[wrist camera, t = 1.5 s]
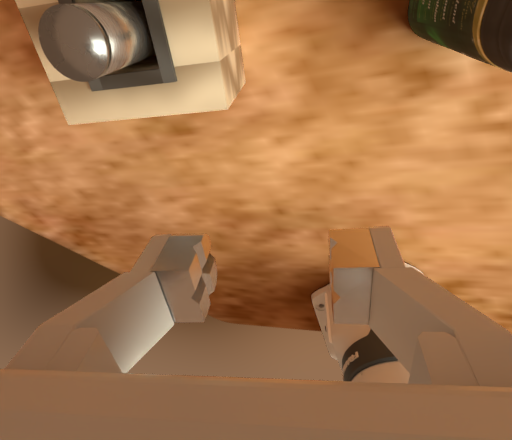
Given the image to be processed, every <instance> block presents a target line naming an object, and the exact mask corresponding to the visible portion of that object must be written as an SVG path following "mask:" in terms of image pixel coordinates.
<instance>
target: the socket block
mask: <svg viewBox="0 0 512 440" xmlns="http://www.w3.org/2000/svg"><path fill="white" fill-rule="evenodd" d="M133 1H135V0H15V2H16V4H17V7H18V9H19V11H20V14H21V16H22V18H23V21H24V23H25V25H26V28H27V30H28V32H29V35H30V37H31V39H32V41H33V44H34V46H35V48H36V51H37V53H38V55H39V58H40V60H41V62H42V65H43V67H44V69H45V72H46V74H47V76H48V79H49V81H50V83H51V86H52V88H53V90H54V93H55V95H56V97H57V99H58V102H59V104H60V106H61V109H62V111H63V113H64V116H65V118H66V120H67V123H68V125H75V124H85V123H95V122H106V121H116V120H126V119H136V118H147V117H157V116H167V115H177V114H187V113H198V112H208V111H218V110H228V108H229V107H230V105H231V104H232V102H233V101H234V99H235V98H236V96H237V95H238V93H239V92H240V90H241V89H242V87H243V86H244V84H245V83H246V81H245V74H244V66H243V59H242V52H241V44H240V37H239V29H238V22H237V14H236V7H235V0H142V3H143V7H144V10H145V14H146V18H147V22H148V26H149V30H150V34H151V37H152V41H153V45H154V49H155V53H156V56H151V57H149V58H146V59H144V60H141V61H139V62H136V63H134V64H131V65H129V66H127V67H124V68H122V69H119V70H117V71H114V72H112V73H109V74H107V75H104V76H102V77H99V78H97V79H94V80H92V81H88V82H79V81H74V80H72V79H69V78H67V77H65V76H64V75H62V74H61V73H60V72H58V71H57V70H56V69H55V68H54V67H53V66H52V64H51V63H50V62H49V60H48V59H47V57H46V56H45V54H44V52H43V50H42V47H41V44H40V41H39V35H38V27H39V22H40V19H41V16H42V15H43V13H44V12H45V11H46V10H47V9H48V8H49V7H51V6H53V5H57V4H77V3H105V2H133Z"/></svg>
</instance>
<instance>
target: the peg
mask: <svg viewBox="0 0 512 440" xmlns="http://www.w3.org/2000/svg"><path fill="white" fill-rule="evenodd" d="M38 35H39V41H40V44H41V47H42V50H43V52H44V54H45V56H46V57H47V59H48V60H49V62H50V63H51V64H52V66H53V67H54V68H55V69H56V70H57V71H58V72H60V73H61V74H62V75H64V76H65V77H67V78H69V79H72V80H74V81H79V82H88V81H92V80H94V79H97V78H99V77H102V76H104V75H107V74H109V73H112V72H114V71H117V70H119V69H122V68H124V67H127V66H129V65H131V64H134V63H136V62H139V61H141V60H144V59H146V58H149V57H151V56H154V55H156V53H155V49H154V45H153V41H152V37H151V34H150V30H149V26H148V22H147V18H146V14H145V10H144V7H143V3H142V2H138V1H133V2H105V3H77V4H57V5H53V6H51V7H49V8H48V9H47V10H46V11H45V12H44V13H43V15H42V16H41V19H40V22H39V27H38Z"/></svg>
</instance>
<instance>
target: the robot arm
mask: <svg viewBox="0 0 512 440" xmlns="http://www.w3.org/2000/svg"><path fill="white" fill-rule="evenodd" d="M328 243H329V254H330V255H329V279H330V283H329V284H328V285H327V286H325V287H323V288H321V289H319V290H317V291H315V292H314V293H313V294H312V295H311V299H312V304H313V307H314V310H315V313H316V316H317V319H318V322H319V325H320V328H321V331H322V334H323V337H324V340H325V343H326V346H327V349H328V352H329V354H330V356H331V357H332V358H333V359H336V360H338V362H339V365H340V367H341V370H342V376H343V381H324V380H296V379H294V380H293V379H269V378H243V377H216V376H188V375H187V376H186V375H161V374H133V373H127V372H128V371H129V370H130V369H131V368H132V367H133V366H134V365H135V364H136V363H137V362H138V361H139V360H140V359H141V358H142V357H143V356H144V355H145V354H146V353H147V352H148V351H149V350H150V349H151V348H152V347H153V346H154V345H155V344H156V343H157V342H158V341H159V340H160V339H161V337H163V336H164V335H165V334H166V332H168V330H170V329H171V328H172V326H174V323H190V322H205V320H206V316H207V313H208V310H209V307H210V304H211V303H210V299H209V295H210V294H211V293H212V292H214V290H215V287H216V283H217V265H216V261H215V258H214V257H213V256H212V255H211V254H209V252H210V250H211V247H212V245H211V241H210V238H209V236H208V235H207V234H173V235H172V234H161V235H155V236H153V237H152V238H151V240H150V241H149V243H148V244H147V246H146V248H145V249H144V251H143V252H142V254H141V255H140V257H139V259H138V260H137V262H136V263H135V265H134V266H133V268H132V270H131V271H130V272H124V273H123V274H121V275H119V276H118V277H116V278H115V279H113V280H111V281H110V282H108V283H106V284H105V285H103V286H102V287H100V288H99V289H97V290H95V291H94V292H92V293H90V294H89V295H87V296H86V297H84V298H82V299H81V300H79V301H78V302H76V303H74V304H73V305H71V306H70V307H68V308H66V309H65V310H63V311H61V312H60V313H58V314H57V315H55V316H53V317H52V318H50V319H49V320H47V321H45V322H44V323H42V324H41V325H39V326H38V327H37V329H36V330H35V331H34V332H33V334H32V335H31V336H30V337H29V339H28V340H27V341H26V342H25V344H24V345H23V346H22V347H21V349H20V350H19V351H18V352H17V354H16V355H15V356H14V357H13V358H12V360H11V361H10V362H9V364H8V365H7V366H6V367H5V368H4V369H0V440H512V335H511V333H510V332H509V331H508V330H506V329H505V328H503V327H502V326H500V325H499V324H497V323H496V322H494V321H493V320H491V319H490V318H488V317H487V316H485V315H484V314H482V313H481V312H479V311H478V310H476V309H475V308H473V307H472V306H470V305H469V304H467V303H465V302H464V301H462V300H461V299H459V298H458V297H456V296H455V295H453V294H452V293H450V292H449V291H447V290H446V289H444V288H443V287H441V286H440V285H438V284H437V283H435V282H434V281H432V280H431V279H429V278H428V277H426V276H425V275H424V274H423V273H422V272H421V271H420V270H418V269H417V268H415V267H413V266H411V265H409V264H407V263H404V261H403V259H402V256H401V253H400V251H399V248H398V246H397V243H396V241H395V238H394V235H393V233H392V230H391V228H390V227H389V226H380V227H368V228H352V229H332V230H329V232H328Z"/></svg>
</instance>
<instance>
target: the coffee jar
mask: <svg viewBox="0 0 512 440" xmlns="http://www.w3.org/2000/svg"><path fill="white" fill-rule="evenodd" d="M408 21H409V24H410V27H411V29H412V30H413V31H414V33H415V34H417V35H418V36H419V37H422V38H424V39H426V40H428V41H431V42H433V43H436V44H439V45H441V46H444V47H447V48H450V49H452V50H454V51H457V52H459V53H462V54H464V55H467V56H469V57H472V58H474V59H477V60H479V61H482V62H485V63H487V64H490V65H493V66H496V67H498V68H500V69H503V70H506V71H509V72H512V0H410V2H409V7H408Z"/></svg>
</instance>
